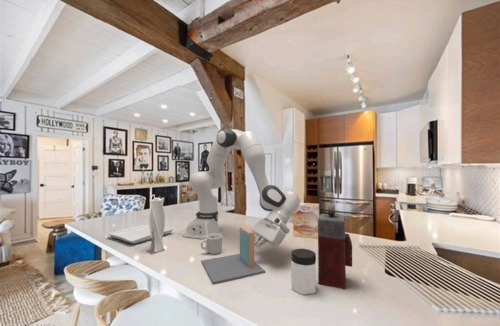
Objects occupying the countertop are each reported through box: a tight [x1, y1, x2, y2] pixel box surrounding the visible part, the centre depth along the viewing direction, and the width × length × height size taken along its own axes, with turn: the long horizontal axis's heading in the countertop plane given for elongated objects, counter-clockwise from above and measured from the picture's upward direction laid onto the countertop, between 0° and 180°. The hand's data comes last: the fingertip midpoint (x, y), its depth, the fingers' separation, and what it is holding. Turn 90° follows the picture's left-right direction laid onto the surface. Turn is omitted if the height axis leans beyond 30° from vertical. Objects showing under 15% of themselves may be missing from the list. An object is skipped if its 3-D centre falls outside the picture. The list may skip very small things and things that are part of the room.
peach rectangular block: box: [239, 225, 256, 268], centre depth 94 cm, size 10×3×14 cm, turn 24°
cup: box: [200, 233, 224, 255], centre depth 106 cm, size 11×8×8 cm
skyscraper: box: [145, 194, 166, 255], centre depth 110 cm, size 8×8×28 cm
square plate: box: [106, 223, 175, 244], centre depth 133 cm, size 27×27×4 cm
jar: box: [290, 248, 317, 296], centre depth 75 cm, size 9×8×12 cm
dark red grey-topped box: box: [317, 203, 353, 290], centre depth 80 cm, size 9×11×28 cm
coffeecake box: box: [292, 202, 320, 240], centre depth 133 cm, size 15×7×20 cm, turn 70°
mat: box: [200, 253, 266, 285], centre depth 91 cm, size 20×21×1 cm
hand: (256, 246), depth 95 cm, fingers closed
